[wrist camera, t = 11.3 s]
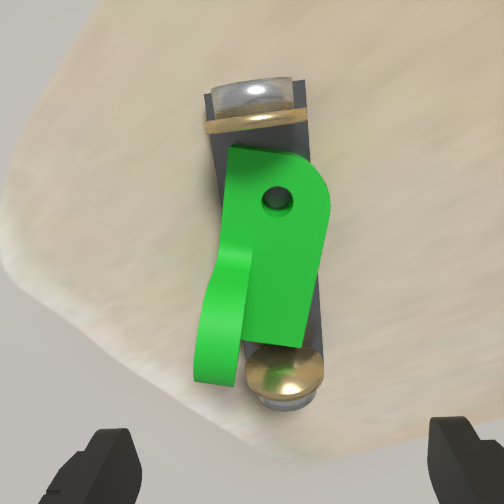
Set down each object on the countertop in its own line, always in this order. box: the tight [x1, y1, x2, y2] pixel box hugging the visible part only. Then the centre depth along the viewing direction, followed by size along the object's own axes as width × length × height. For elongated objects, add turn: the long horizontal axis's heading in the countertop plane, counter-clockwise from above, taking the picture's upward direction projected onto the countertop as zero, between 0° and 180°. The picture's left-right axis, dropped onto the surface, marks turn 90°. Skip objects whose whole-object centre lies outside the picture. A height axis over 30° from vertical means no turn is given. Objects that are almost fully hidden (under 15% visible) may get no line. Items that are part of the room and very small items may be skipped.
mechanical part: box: [194, 144, 331, 387], centre depth 19 cm, size 12×6×8 cm, turn 173°
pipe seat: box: [204, 77, 324, 411], centre depth 21 cm, size 6×19×6 cm, turn 7°
